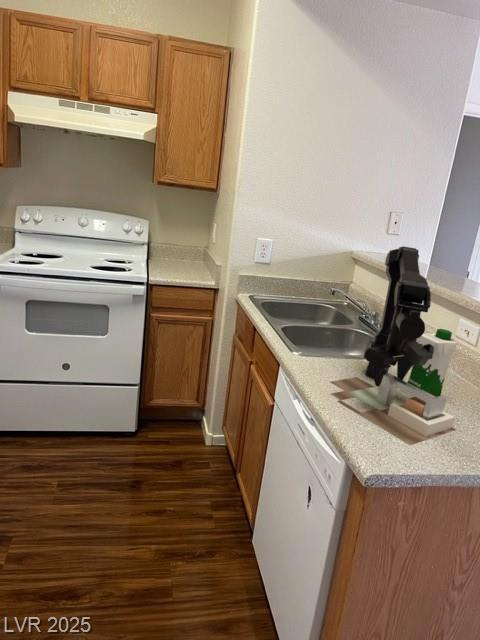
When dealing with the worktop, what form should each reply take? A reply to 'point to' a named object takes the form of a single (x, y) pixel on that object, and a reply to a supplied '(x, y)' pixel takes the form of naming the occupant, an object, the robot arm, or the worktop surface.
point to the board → (379, 410)
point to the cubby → (421, 421)
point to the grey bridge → (433, 403)
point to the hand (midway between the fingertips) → (388, 383)
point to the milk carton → (433, 363)
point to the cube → (415, 406)
